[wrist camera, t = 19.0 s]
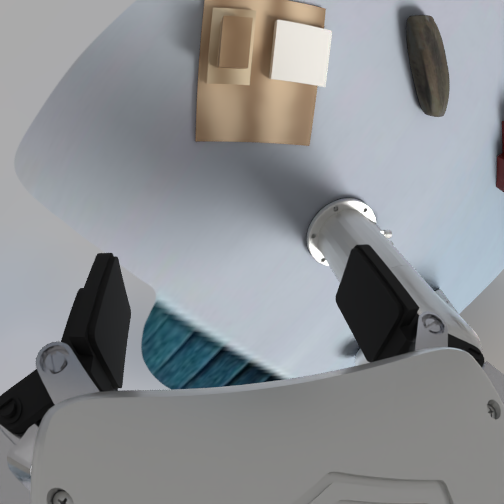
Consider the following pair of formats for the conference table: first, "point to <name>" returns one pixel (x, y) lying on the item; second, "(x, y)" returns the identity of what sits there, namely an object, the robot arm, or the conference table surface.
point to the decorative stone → (428, 64)
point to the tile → (300, 53)
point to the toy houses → (501, 165)
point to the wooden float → (231, 46)
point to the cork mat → (257, 83)
